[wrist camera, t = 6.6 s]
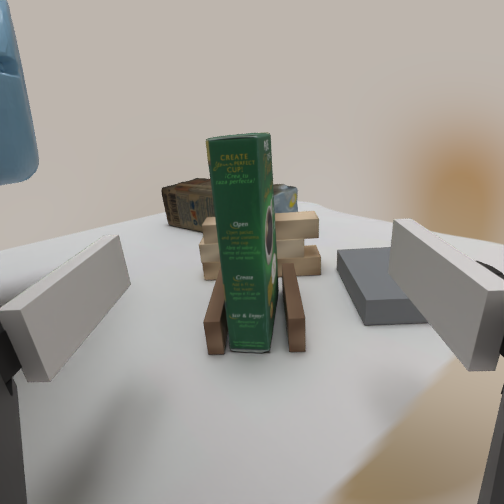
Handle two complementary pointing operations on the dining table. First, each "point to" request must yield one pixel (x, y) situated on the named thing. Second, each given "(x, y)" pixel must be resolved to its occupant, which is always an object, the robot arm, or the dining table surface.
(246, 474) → the dining table surface
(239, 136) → the coffee box
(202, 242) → the offcut stack
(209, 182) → the beverage carton
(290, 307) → the walnut rack
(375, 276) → the stand pad
